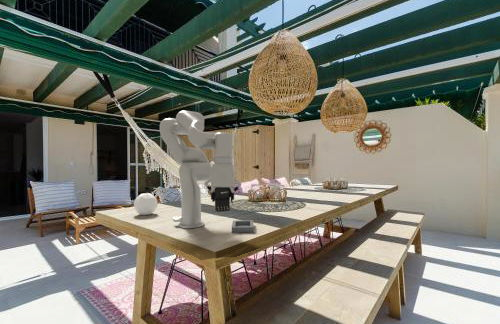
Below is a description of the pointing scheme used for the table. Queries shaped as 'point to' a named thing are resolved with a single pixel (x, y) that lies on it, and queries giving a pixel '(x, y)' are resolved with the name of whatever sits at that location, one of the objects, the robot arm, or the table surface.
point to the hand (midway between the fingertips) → (222, 201)
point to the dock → (243, 226)
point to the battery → (222, 199)
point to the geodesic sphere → (145, 204)
